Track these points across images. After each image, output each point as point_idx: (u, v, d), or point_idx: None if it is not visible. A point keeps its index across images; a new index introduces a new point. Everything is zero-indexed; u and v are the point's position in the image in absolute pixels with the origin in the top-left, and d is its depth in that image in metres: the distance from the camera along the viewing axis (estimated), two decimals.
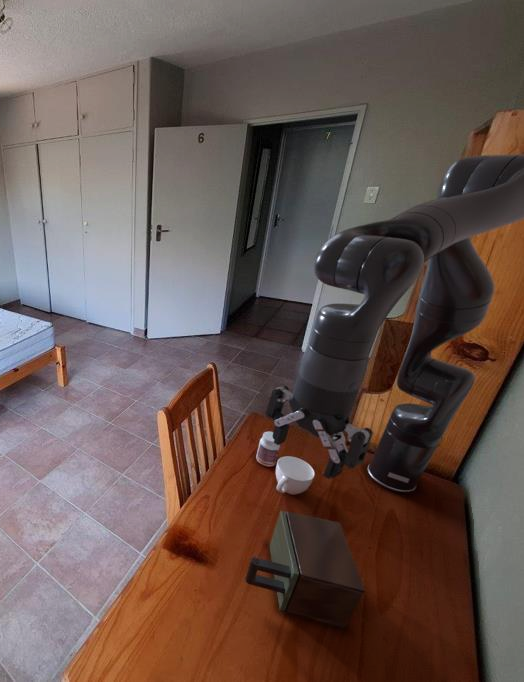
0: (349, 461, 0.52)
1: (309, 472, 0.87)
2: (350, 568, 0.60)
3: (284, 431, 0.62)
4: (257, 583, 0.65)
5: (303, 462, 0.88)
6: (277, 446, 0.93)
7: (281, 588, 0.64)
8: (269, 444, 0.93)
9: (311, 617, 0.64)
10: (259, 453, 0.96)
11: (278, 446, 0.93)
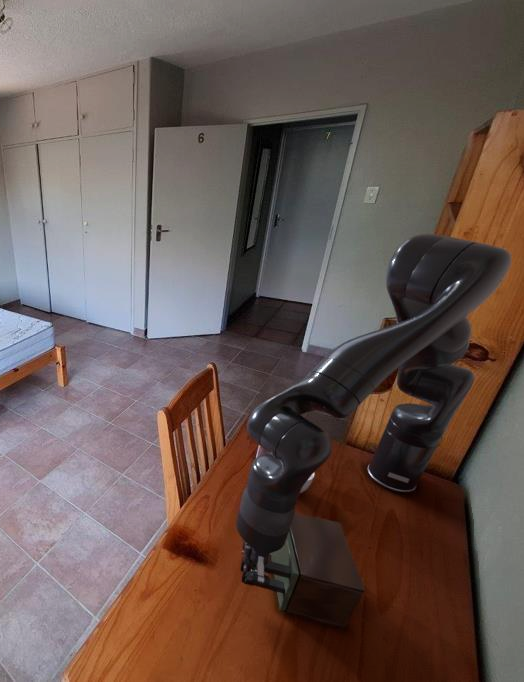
0: (246, 573, 0.62)
1: None
2: (350, 568, 0.60)
3: None
4: (257, 583, 0.65)
5: None
6: None
7: (281, 588, 0.64)
8: None
9: (311, 617, 0.64)
10: (259, 453, 0.96)
11: None
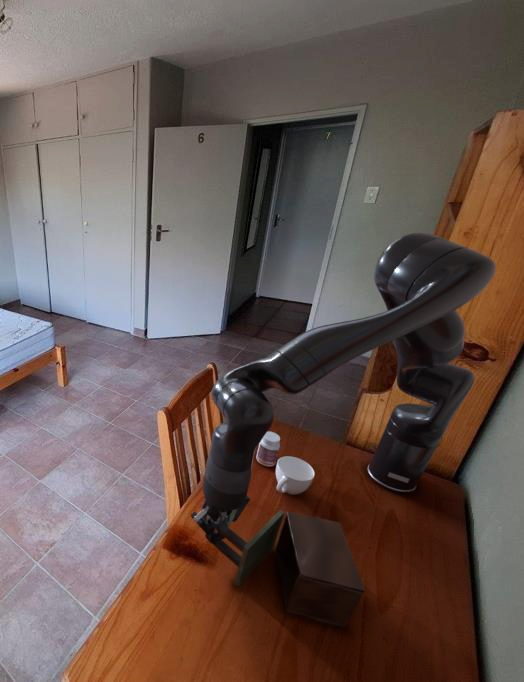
0: None
1: (309, 472, 0.87)
2: (350, 568, 0.60)
3: None
4: (220, 547, 0.72)
5: (303, 462, 0.88)
6: (277, 446, 0.93)
7: (238, 562, 0.69)
8: (269, 444, 0.93)
9: (311, 617, 0.64)
10: (259, 453, 0.96)
11: (278, 446, 0.93)
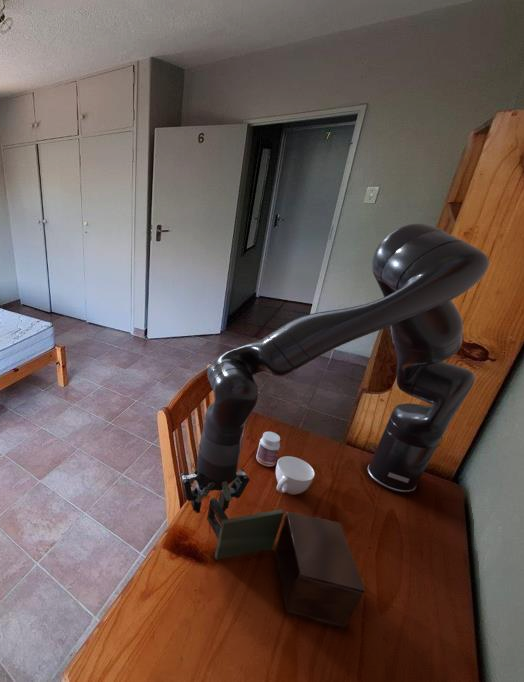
0: None
1: (309, 472, 0.87)
2: (350, 568, 0.60)
3: (221, 499, 0.78)
4: (210, 521, 0.77)
5: (303, 462, 0.88)
6: (277, 446, 0.93)
7: None
8: (269, 444, 0.93)
9: (311, 617, 0.64)
10: (259, 453, 0.96)
11: (278, 446, 0.93)
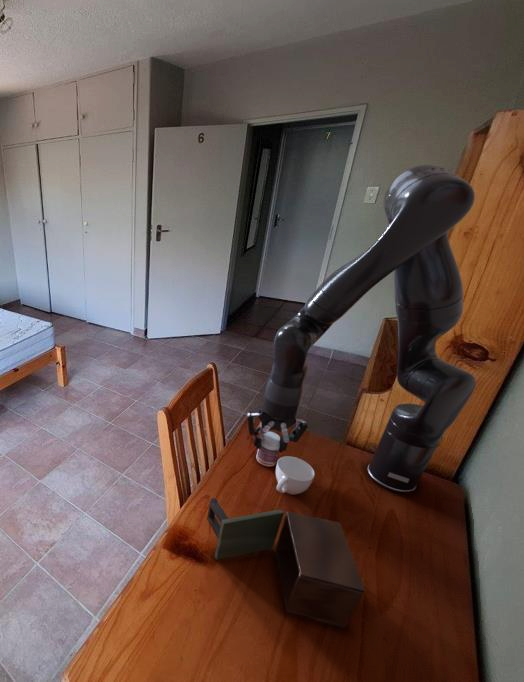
0: None
1: (309, 472, 0.87)
2: (350, 568, 0.60)
3: (280, 442, 0.94)
4: (210, 521, 0.77)
5: (303, 462, 0.88)
6: (277, 446, 0.93)
7: None
8: (269, 444, 0.93)
9: (311, 617, 0.64)
10: (259, 453, 0.96)
11: (278, 446, 0.93)
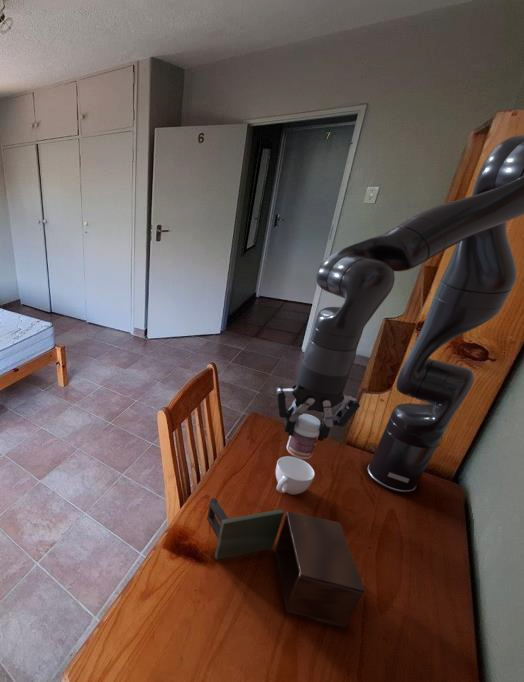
0: None
1: (309, 472, 0.87)
2: (350, 568, 0.60)
3: (320, 427, 0.72)
4: (210, 521, 0.77)
5: (303, 462, 0.88)
6: (316, 432, 0.71)
7: None
8: (306, 429, 0.71)
9: (311, 617, 0.64)
10: (291, 442, 0.74)
11: (317, 432, 0.71)
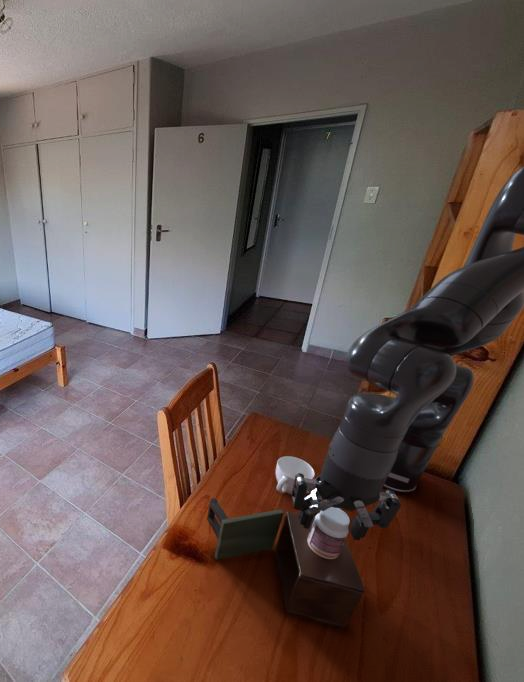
0: None
1: (309, 472, 0.87)
2: (350, 568, 0.60)
3: (356, 523, 0.60)
4: (210, 521, 0.77)
5: (303, 462, 0.88)
6: (345, 531, 0.60)
7: None
8: (332, 528, 0.59)
9: (311, 617, 0.64)
10: (314, 538, 0.63)
11: (346, 531, 0.60)
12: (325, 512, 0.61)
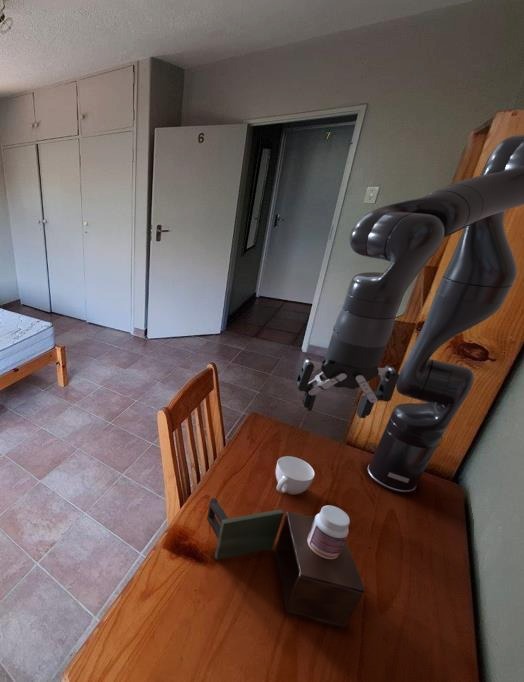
0: None
1: (309, 472, 0.87)
2: (350, 568, 0.60)
3: (362, 403, 0.66)
4: (210, 521, 0.77)
5: (303, 462, 0.88)
6: (345, 531, 0.60)
7: None
8: (332, 528, 0.59)
9: (311, 617, 0.64)
10: (314, 538, 0.63)
11: (346, 531, 0.60)
12: (325, 512, 0.61)
